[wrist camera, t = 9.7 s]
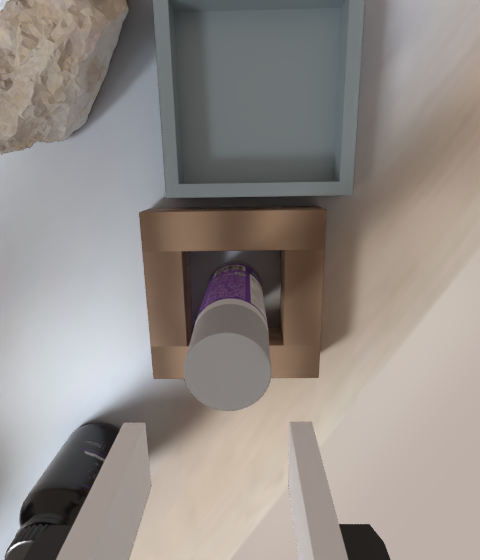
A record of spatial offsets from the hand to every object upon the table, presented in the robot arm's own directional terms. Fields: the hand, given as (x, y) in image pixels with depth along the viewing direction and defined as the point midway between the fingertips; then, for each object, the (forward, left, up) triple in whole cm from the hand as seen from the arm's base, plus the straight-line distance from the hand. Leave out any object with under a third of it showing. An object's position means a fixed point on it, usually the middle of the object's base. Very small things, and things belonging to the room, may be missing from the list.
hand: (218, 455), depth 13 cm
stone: (-13, +18, -21) cm, 30 cm away
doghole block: (0, 0, -21) cm, 21 cm away
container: (0, 0, -21) cm, 21 cm away
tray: (+2, +15, -21) cm, 26 cm away
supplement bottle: (-14, -17, -21) cm, 30 cm away
